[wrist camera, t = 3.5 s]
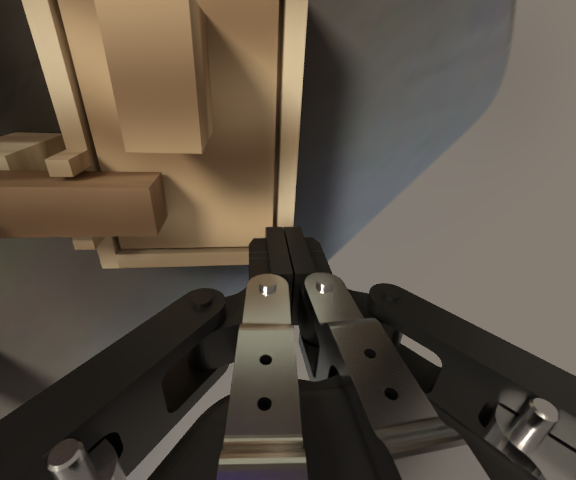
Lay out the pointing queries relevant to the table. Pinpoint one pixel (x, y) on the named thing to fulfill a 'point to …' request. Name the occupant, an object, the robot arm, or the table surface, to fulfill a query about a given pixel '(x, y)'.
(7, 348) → the table surface
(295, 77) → the wooden box
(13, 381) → the table surface
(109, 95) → the lid
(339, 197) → the table surface
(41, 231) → the brown wooden bar
